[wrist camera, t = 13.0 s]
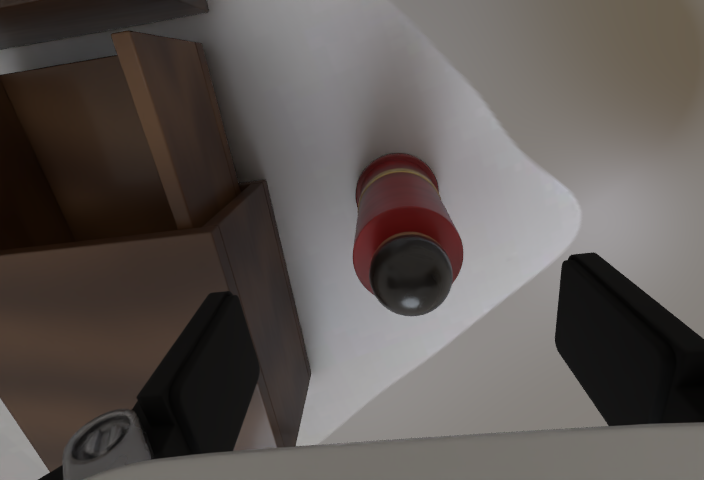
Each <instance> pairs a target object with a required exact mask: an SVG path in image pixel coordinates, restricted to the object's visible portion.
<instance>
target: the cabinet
mask: <svg viewBox="0 0 704 480" xmlns="http://www.w3.org/2000/svg"><path fill="white" fill-rule="evenodd" d="M239 187H240V191H241V193H240V194H239V195H238V196H237V197H235V198H234V199H233V200H232V201H231V202H230V203H229V204H227V205H226V206H225V207H224V208H223V209H222V210H221V211H219V212H218V213H217V214H216V215H215V216H214V217H213V218H212V219H210V220H209V221H208V222H207V223H206V224H205V225H204V226H202V227H200V228H192V229H183V230H174V231H165V232H156V233H148V234H139V235H130V236H121V237H112V238H104V239H95V240H86V241H77V242H68V243H60V244H51V245H42V246H33V247H24V248H16V249H7V250H0V398H1V400H2V401H3V403H4V404H5V406H6V407H7V409H8V410H9V412H10V413H11V415H12V416H13V418H14V419H15V421H16V422H17V424H18V425H19V427H20V428H21V429H22V431H23V432H24V434H25V435H26V437H27V438H28V440H29V441H30V443H31V444H32V446H33V447H34V449H35V450H36V452H37V453H38V455H39V456H40V458H41V459H42V461H43V462H44V464H45V465H46V467H47V468H48V470H49V471H50V472H52V471H53V470H55V469H56V468H58V467H60V466H61V465H63V462H62V456H63V451H64V448H65V447H66V445H67V443H68V441H69V440H70V439H71V437H72V436H73V435H74V434H75V433H76V432H77V431H78V430H79V429H80V428H81V427H83V426H84V425H85V424H86V423H88V422H89V421H91V420H93V419H94V418H96V417H97V416H99V415H102V414H104V413H106V412H109V411H112V410H116V409H130V410H132V408H133V407H134V406H135V404H136V403H137V401H138V400H137V398H136V397H137V395H138V394H139V393H140V391H141V390H142V388H143V387H144V385H145V384H146V383H147V381H148V380H149V378H150V377H151V375H152V374H153V373H154V371H155V370H156V368H157V367H158V365H159V364H160V363H161V361H162V360H163V358H164V357H165V356H166V354H167V353H168V351H169V350H170V348H171V347H172V346H173V344H174V343H175V341H176V340H177V338H178V337H179V336H180V334H181V333H182V331H183V330H184V328H185V327H186V326H187V324H188V323H189V321H190V320H191V319H192V317H193V316H194V314H195V313H196V311H197V310H198V309H199V307H200V306H201V304H202V303H203V301H204V300H205V299H206V297H207V296H208V295H209V294H210V293H214V292H223V291H230V292H231V293H232V294H233V295H237V296H238V297H239V300H240V303H241V306H242V310H243V313H244V316H245V319H246V323H247V326H248V329H249V332H250V336H251V339H252V342H253V345H254V349H255V352H256V355H257V359H258V362H259V366H260V375H259V379H258V381H257V384H256V387H255V390H254V393H253V396H252V399H251V401H250V404H249V407H248V410H247V413H246V416H245V419H244V422H243V424H242V427H241V430H240V433H239V436H238V439H237V442H236V444H235V447H234V450H233V451H242V450H254V449H268V448H282V447H295V446H296V441H297V437H298V432H299V427H300V423H301V418H302V414H303V409H304V404H305V400H306V395H307V391H308V386H309V380H310V376H311V371H310V366H309V362H308V358H307V353H306V349H305V345H304V341H303V336H302V332H301V328H300V323H299V319H298V315H297V311H296V306H295V302H294V298H293V293H292V289H291V285H290V281H289V276H288V272H287V268H286V263H285V259H284V255H283V251H282V246H281V242H280V238H279V234H278V229H277V225H276V221H275V216H274V212H273V208H272V204H271V199H270V195H269V191H268V186H267V182H266V180H258V181H250V182H242V183H239Z"/></svg>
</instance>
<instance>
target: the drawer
mask: <svg viewBox="0 0 704 480" xmlns="http://www.w3.org/2000/svg"><path fill="white" fill-rule="evenodd" d="M208 12H209V9H208V5H207V1H206V0H0V50H1V49H7V48H12V47H18V46H24V45H29V44H35V43H40V42H46V41H52V40H57V39H63V38H68V37H74V36H80V35H85V34H91V33H96V32H102V31H108V30H113V29H119V28H124V27H130V26H136V25H141V24H147V23H152V22H158V21H164V20H169V19H175V18H180V17H186V16H192V15H197V14H203V13H208ZM111 37H112V40H113V43H114V46H115V49H116V52H117V55H115V56H109V57H103V58H97V59H91V60H86V61H80V62H74V63H68V64H62V65H56V66H50V67H44V68H39V69H33V70H27V71H21V72H15V73H9V74H3V75H0V250H7V249H16V248H24V247H33V246H42V245H51V244H60V243H68V242H77V241H86V240H95V239H104V238H112V237H121V236H130V235H139V234H148V233H156V232H165V231H174V230H183V229H192V228H200V227H202V226H204V225H205V224H206V223H207V222H208V221H209V220H210V219H212V218H213V217H214V216H215V215H216V214H217V213H218V212H219V211H221V210H222V209H223V208H224V207H225V206H226V205H227V204H229V203H230V202H231V201H232V200H233V199H234V198H235V197H237V196H238V195H239V194H240V193H241V191H240V187H239V183H238V179H237V175H236V172H235V168H234V164H233V160H232V156H231V153H230V149H229V145H228V141H227V137H226V134H225V130H224V126H223V122H222V119H221V115H220V111H219V107H218V103H217V100H216V96H215V92H214V88H213V84H212V81H211V77H210V73H209V69H208V65H207V62H206V58H205V54H204V50H203V46H202V43H198V42H191V41H185V40H180V39H174V38H168V37H163V36H157V35H151V34H146V33H140V32H134V31H129V30H128V31H122V32H117V33H112V34H111Z"/></svg>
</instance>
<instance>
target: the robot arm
mask: <svg viewBox="0 0 704 480" xmlns="http://www.w3.org/2000/svg"><path fill="white" fill-rule="evenodd" d="M555 343H556V347H557V350H558V352H559V353H560V355H561V356H562V358H563V359H564V360H565V362H566V363H567V365H568V366H569V368H570V369H571V371H572V372H573V374H574V375H575V377H576V378H577V380H578V381H579V383H580V384H581V385H582V387H583V389H584V390H585V391H586V393H587V394H588V396H589V397H590V399H591V400H592V401H593V403H594V404H595V406H596V408H597V409H598V411H599V412H600V413H601V415H602V416H603V418H604V419H605V421H606V422H607V424H608V425H609V426H603V427H585V428H569V429H553V430H535V431H520V432H503V433H487V434H470V435H455V436H441V437H426V438H410V439H395V440H380V441H366V442H351V443H337V444H323V445H309V446H296V447H282V448H268V449H254V450H242V451H233V450H234V447H235V444H236V442H237V439H238V436H239V433H240V430H241V427H242V424H243V422H244V419H245V416H246V413H247V410H248V407H249V404H250V401H251V399H252V396H253V393H254V390H255V387H256V384H257V381H258V379H259V375H260V366H259V362H258V359H257V355H256V352H255V349H254V345H253V342H252V339H251V336H250V332H249V329H248V326H247V323H246V319H245V316H244V313H243V310H242V306H241V303H240V300H239V297H238V296H237V295H233V294H232V293H231V292H230V291H223V292H214V293H210V294H209V295H208V296H207V297H206V299H205V300H204V301H203V303H202V304H201V306H200V307H199V309H198V310H197V311H196V313H195V314H194V316H193V317H192V319H191V320H190V321H189V323H188V324H187V326H186V327H185V328H184V330H183V331H182V333H181V334H180V336H179V337H178V338H177V340H176V341H175V343H174V344H173V346H172V347H171V348H170V350H169V351H168V353H167V354H166V356H165V357H164V358H163V360H162V361H161V363H160V364H159V365H158V367H157V368H156V370H155V371H154V373H153V374H152V375H151V377H150V378H149V380H148V381H147V383H146V384H145V385H144V387H143V388H142V390H141V391H140V393H139V394H138V395H137V397H136V398H137V400H138V401H137V403H136V404H135V406H134V407H133V408H132V410H130V409H116V410H112V411H109V412H106V413H104V414H102V415H99V416H97V417H96V418H94V419H93V420H91V421H89V422H88V423H86V424H85V425H84V426H83V427H81V428H80V429H79V430H78V431H77V432H76V433H75V434H74V435H73V436H72V437H71V439H70V440H69V441H68V443H67V445H66V447H65V448H64V451H63V456H62V462H63V465H61V466H60V467H58V468H56V469H55V470H53V471H52V472H50V473H48V474H47V475H45V476H43V477H42V478H40V479H38V480H704V339H703V338H702V337H700V336H699V335H698V334H697V333H695V332H694V331H693V330H692V329H690V328H689V327H688V326H687V325H685V324H684V323H683V322H682V321H680V320H679V319H678V318H677V317H675V316H674V315H673V314H672V313H670V312H669V311H668V310H667V309H665V308H664V307H663V306H661V305H660V304H659V303H658V302H656V301H655V300H654V299H653V298H651V297H650V296H649V295H648V294H646V293H645V292H644V291H643V290H641V289H640V288H639V287H637V286H636V285H635V284H634V283H633V282H631V281H630V280H629V279H628V278H626V277H625V276H624V275H623V274H621V273H620V272H619V271H617V270H616V269H615V268H614V267H613V266H611V265H610V264H609V263H608V262H606V261H605V260H604V259H603V258H601V257H600V256H599V255H597V254H596V253H585V254H575V255H571V256H570V257H569V258H568V260H567V261H564V262H563V264H562V270H561V280H560V291H559V302H558V311H557V322H556V333H555Z"/></svg>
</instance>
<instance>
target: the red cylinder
mask: <svg viewBox="0 0 704 480" xmlns="http://www.w3.org/2000/svg"><path fill="white" fill-rule="evenodd" d="M356 203H357V207H358V217H357V225H356V233H355V240H354V248H353V264H354V269H355V272H356V274H357V276H358V278H359V280H360V281H361V283H362V284H363V285H364V287H365V288H366V289H367V290H368V291H370V292H371V293H372V294H373V295H375V296H376V298H377V299H378V300H379V302H380V303H381V304H382V305H383V306H384V307H386V308H387V309H389V310H390V311H392V312H394V313H396V314H399V315H404V316H420V315H424V314H426V313H429V312H431V311H433V310H434V309H436V308H437V307H438V306H440V305H441V303H442V302H443V301H444V300H445V298H446V297H447V295H448V294H449V291H450V289H451V286H452V283H453V282H454V281H455V279H456V278H457V276H458V274H459V272H460V269H461V266H462V262H463V245H462V241H461V238H460V236H459V234H458V232H457V230H456V228H455V226H454V224H453V222H452V220H451V218H450V216H449V214H448V212H447V210H446V208H445V206H444V205H443V203H442V201H441V197H440V195H439V189H438V184H437V180H436V178H435V176H434V174H433V172H432V171H431V169H430V168H429V167H428V166H427V165H426V164H425V163H424V162H423V161H422V160H420V159H418V158H417V157H415V156H412V155H409V154H404V153H392V154H387V155H384V156H381V157H379V158H377V159H376V160H374V161H373V162H371V163H370V164H369V165H368V166H367V167H366V168H365V169H364V171H363V172H362V174H361V176H360V178H359V180H358V183H357V188H356Z"/></svg>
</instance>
